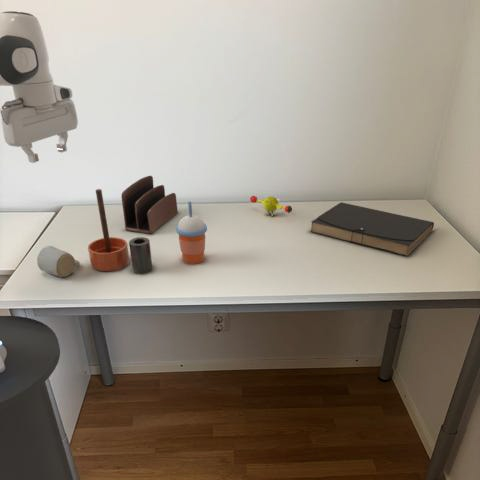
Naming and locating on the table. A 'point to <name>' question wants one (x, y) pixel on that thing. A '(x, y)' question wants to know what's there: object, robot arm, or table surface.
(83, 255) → the table surface
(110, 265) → the bowl
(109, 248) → the stick
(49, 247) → the ceramic mug
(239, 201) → the table surface
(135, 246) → the tube
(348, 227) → the black book
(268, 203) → the toy figure
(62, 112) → the robot arm
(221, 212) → the table surface
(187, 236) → the cup with straw
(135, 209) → the letter holder
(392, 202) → the table surface
